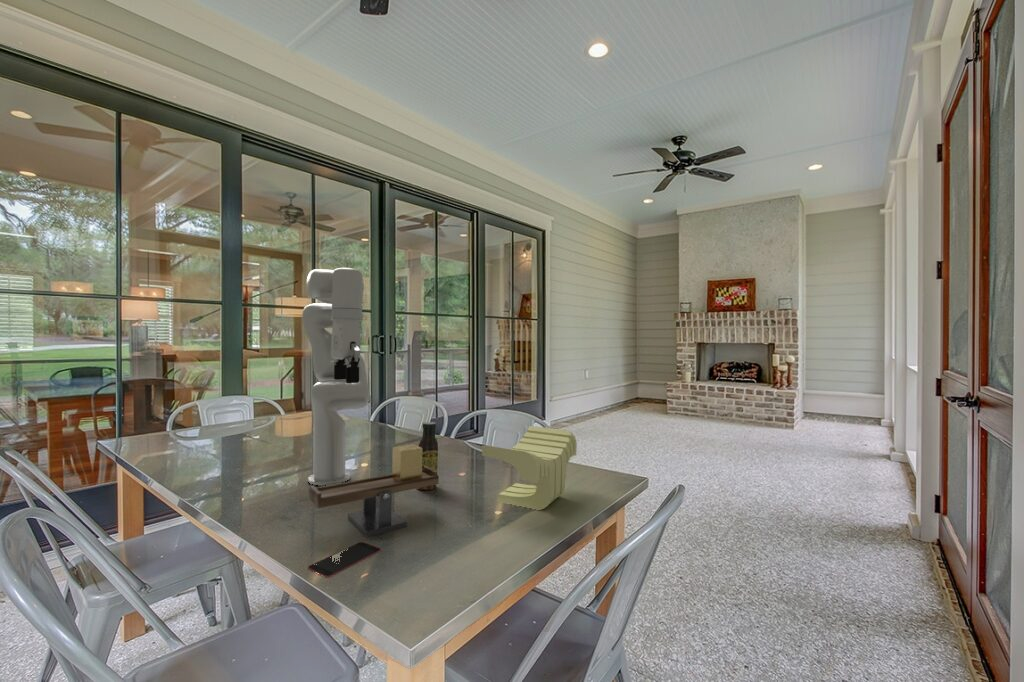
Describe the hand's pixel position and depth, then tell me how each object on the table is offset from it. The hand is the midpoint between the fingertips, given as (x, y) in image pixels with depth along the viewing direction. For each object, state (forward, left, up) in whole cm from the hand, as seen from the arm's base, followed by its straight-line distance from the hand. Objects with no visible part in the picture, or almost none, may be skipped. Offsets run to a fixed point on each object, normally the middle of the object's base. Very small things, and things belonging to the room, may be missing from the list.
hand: (346, 381), depth 121 cm
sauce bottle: (-4, +26, -34) cm, 43 cm away
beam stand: (+12, +4, -34) cm, 37 cm away
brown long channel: (+12, +4, -26) cm, 29 cm away
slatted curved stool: (+22, +46, -34) cm, 62 cm away
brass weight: (+12, +12, -25) cm, 30 cm away
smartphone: (+26, -8, -35) cm, 44 cm away
